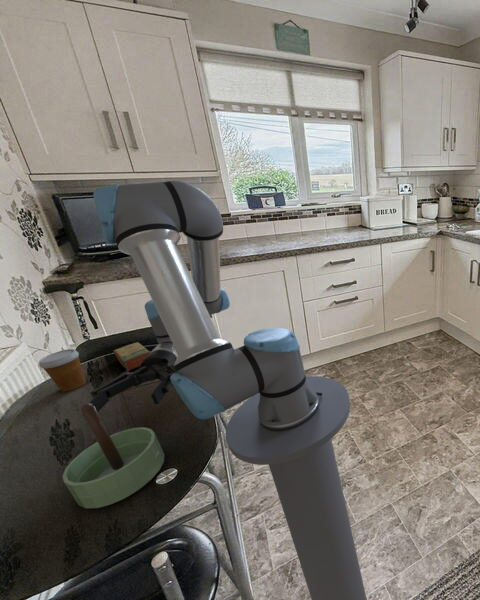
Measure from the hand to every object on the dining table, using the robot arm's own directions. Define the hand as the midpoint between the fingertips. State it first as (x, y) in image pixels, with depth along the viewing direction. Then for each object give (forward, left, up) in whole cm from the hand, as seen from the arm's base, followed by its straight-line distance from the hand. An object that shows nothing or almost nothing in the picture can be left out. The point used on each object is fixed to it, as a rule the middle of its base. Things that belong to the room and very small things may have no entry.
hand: (121, 406), depth 75 cm
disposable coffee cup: (+23, -54, -13) cm, 60 cm away
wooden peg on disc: (+3, +8, -12) cm, 15 cm away
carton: (+6, -61, -13) cm, 63 cm away
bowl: (+3, +8, -13) cm, 15 cm away
